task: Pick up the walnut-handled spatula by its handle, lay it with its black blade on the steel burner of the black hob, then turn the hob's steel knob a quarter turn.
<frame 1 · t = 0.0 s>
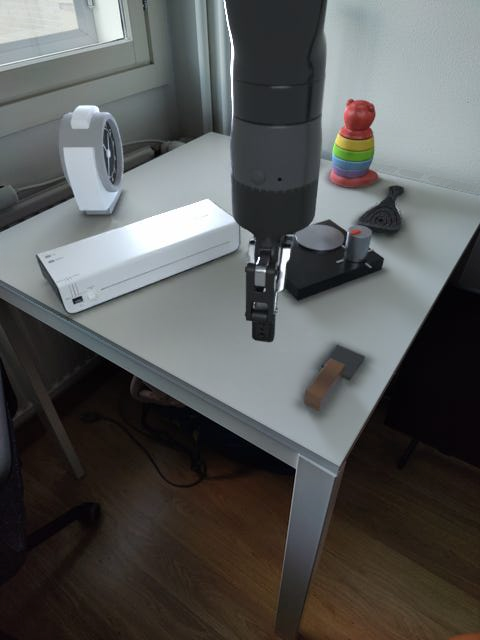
hand: (269, 312, 50), 16 cm above the table, tool pointing down, fingers open, 8 cm apart
hob: (314, 262, 85), on the table
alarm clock: (104, 203, 104), on the table
laminator: (148, 268, 85), on the table
spatula: (332, 378, 64), on the table
stacking bear: (349, 179, 111), on the table
burner: (319, 238, 86), resting on hob
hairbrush: (385, 213, 98), on the table
hob knob: (357, 243, 80), point 5 cm above the table, hinge at 0.0°
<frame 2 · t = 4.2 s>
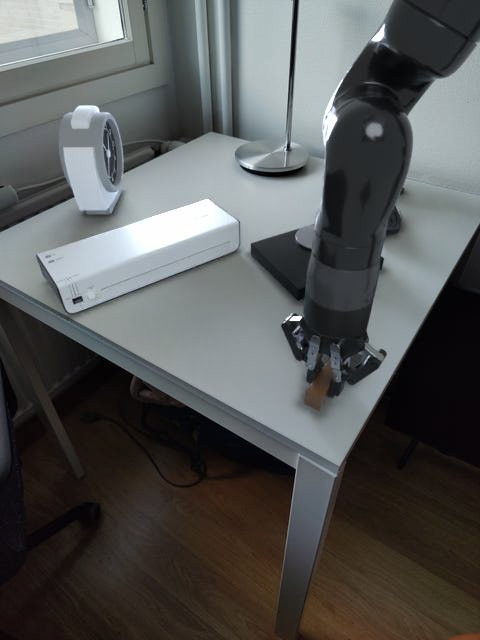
hand: (323, 388, 62), 0 cm above the table, tool pointing down, fingers closed on spatula, 2 cm apart
spatula: (332, 378, 64), on the table, touching gripper
everything else where it was.
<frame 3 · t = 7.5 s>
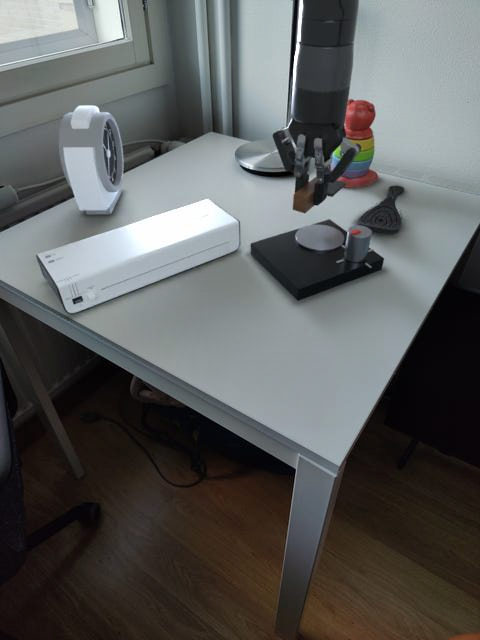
hand: (309, 200, 72), 15 cm above the table, tool pointing down, fingers closed on spatula
spatula: (316, 196, 74), point 14 cm above the table, touching gripper
everything else where it was.
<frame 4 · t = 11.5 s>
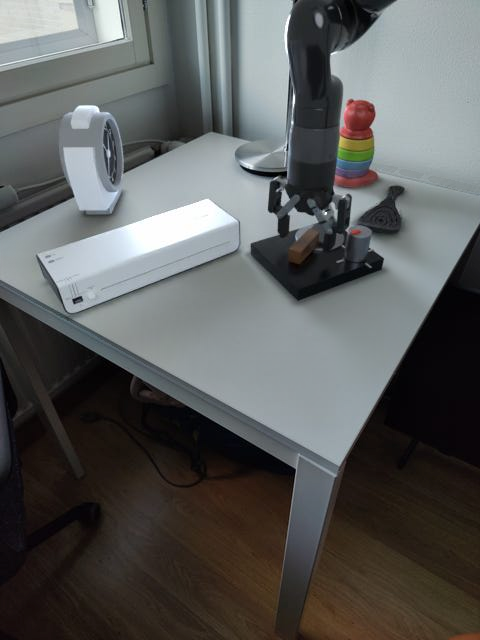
hand: (305, 242, 81), 5 cm above the table, tool pointing down, fingers open, 8 cm apart
spatula: (310, 244, 84), point 3 cm above the table, touching burner, hob
everything else where it was.
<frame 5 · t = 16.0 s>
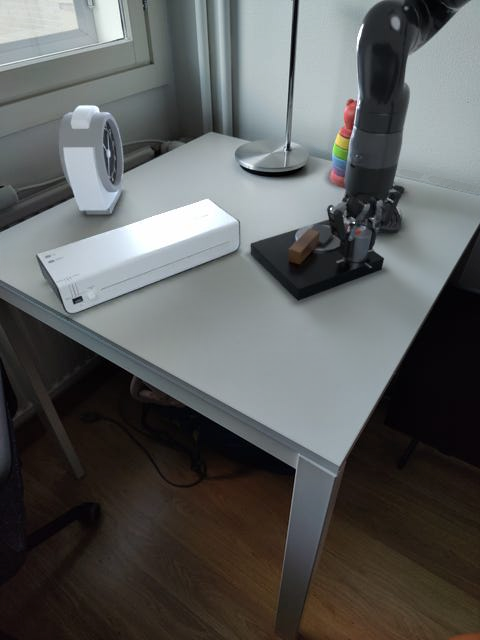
hand: (356, 251, 81), 3 cm above the table, tool pointing down, fingers closed on hob knob, 4 cm apart
hob knob: (357, 243, 80), point 5 cm above the table, hinge at -0.2°, touching gripper
everything else where it was.
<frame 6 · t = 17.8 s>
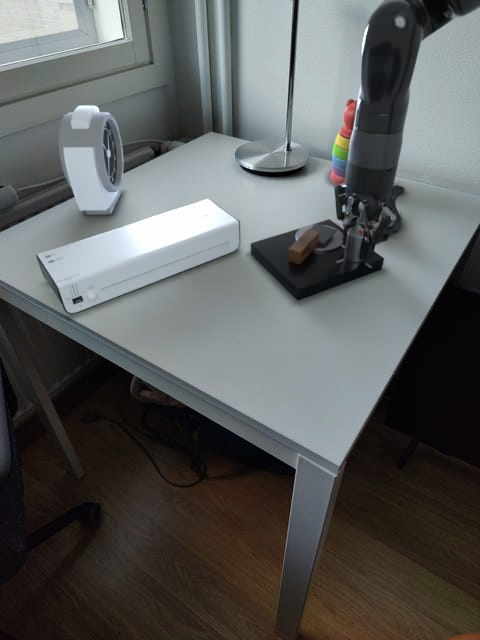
hand: (356, 251, 81), 3 cm above the table, tool pointing down, fingers closed on hob knob, 4 cm apart
hob knob: (357, 243, 80), point 5 cm above the table, hinge at 93.2°, touching gripper
everything else where it was.
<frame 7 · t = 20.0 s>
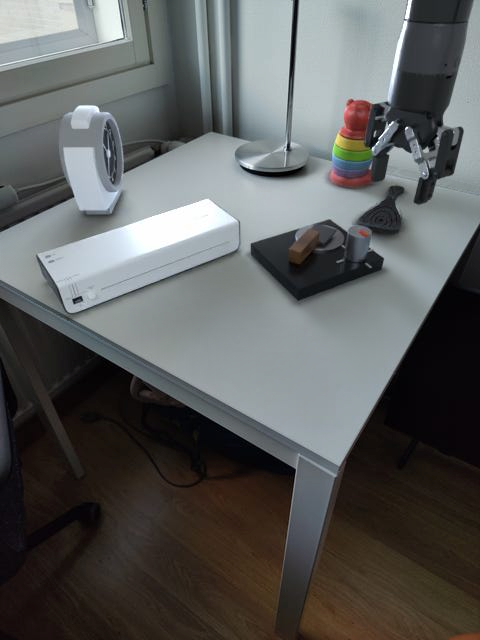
hand: (398, 191, 66), 18 cm above the table, tool pointing down, fingers open, 8 cm apart
hob knob: (357, 243, 80), point 5 cm above the table, hinge at 93.1°
everything else where it was.
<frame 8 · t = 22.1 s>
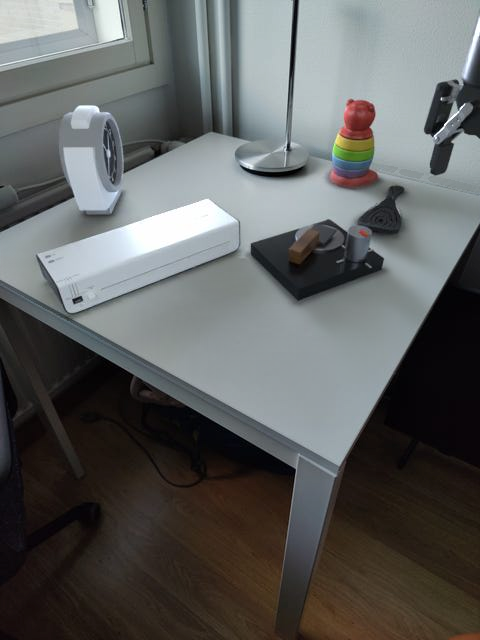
hand: (464, 186, 56), 23 cm above the table, tool pointing down, fingers open, 8 cm apart
nothing on the table moved.
at the end: spatula inside the target area on the burner (0.5 cm from its centre), point 0.5 cm above the burner's base; spatula tilted 5°; hob knob at +93° (first picture: +0°) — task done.
